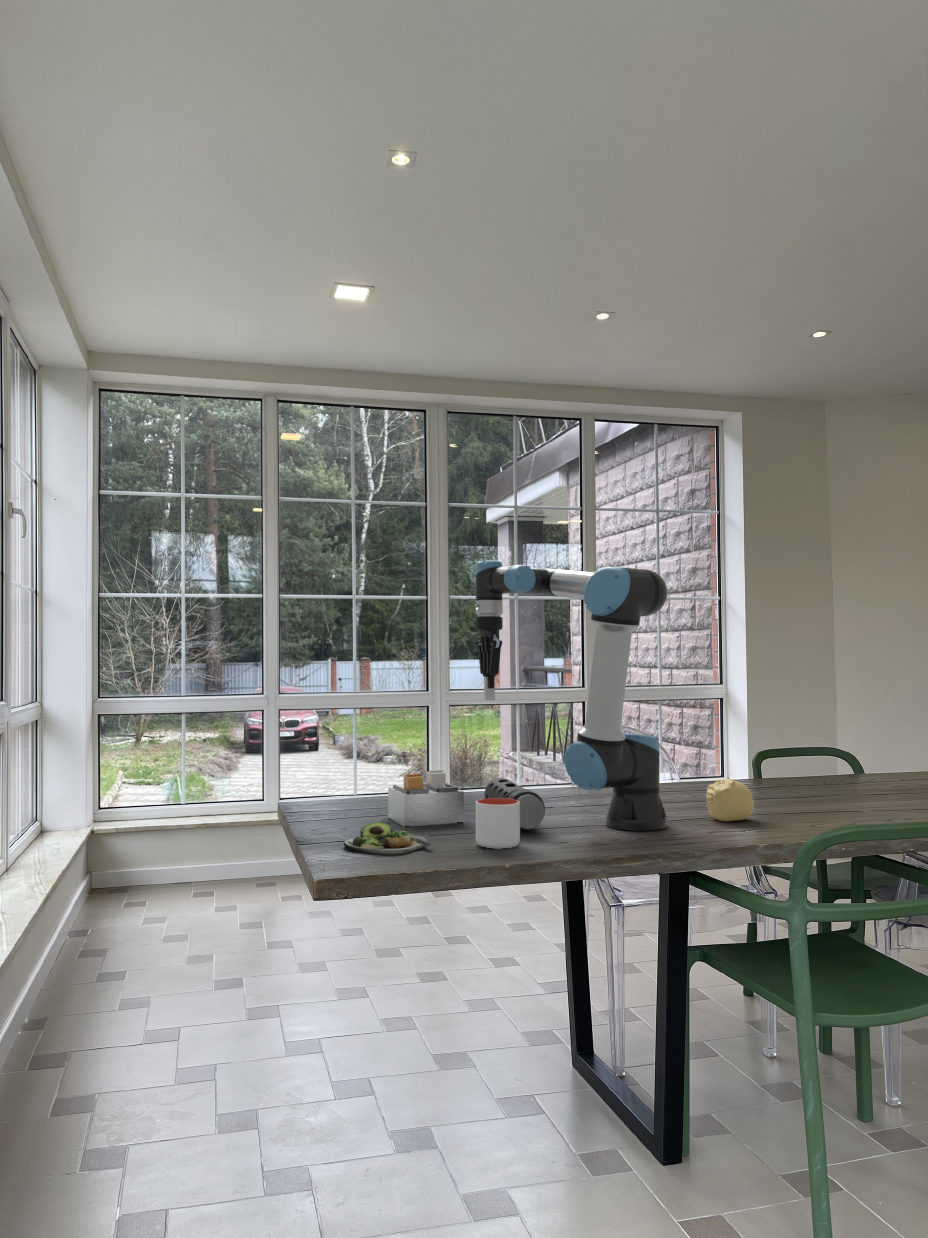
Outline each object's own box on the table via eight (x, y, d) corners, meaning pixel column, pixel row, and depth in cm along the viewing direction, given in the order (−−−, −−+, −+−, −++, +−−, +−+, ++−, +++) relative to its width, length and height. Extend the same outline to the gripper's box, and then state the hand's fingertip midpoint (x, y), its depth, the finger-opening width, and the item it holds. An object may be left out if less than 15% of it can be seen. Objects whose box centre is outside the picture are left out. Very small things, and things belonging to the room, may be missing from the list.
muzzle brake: (517, 814, 250) (517, 776, 250) (548, 835, 222) (547, 791, 223) (483, 816, 248) (483, 777, 248) (509, 836, 220) (509, 793, 221)
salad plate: (449, 845, 211) (449, 825, 212) (407, 861, 196) (407, 839, 196) (379, 837, 221) (379, 817, 221) (333, 851, 205) (333, 830, 205)
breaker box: (463, 822, 238) (463, 787, 238) (404, 827, 232) (404, 790, 232) (444, 813, 251) (444, 780, 251) (388, 817, 245) (388, 783, 245)
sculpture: (701, 816, 247) (701, 775, 247) (746, 816, 247) (746, 775, 247) (711, 824, 236) (711, 781, 236) (759, 824, 235) (758, 781, 236)
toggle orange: (423, 790, 237) (423, 774, 237) (408, 791, 235) (408, 775, 235) (418, 788, 240) (418, 772, 241) (403, 789, 239) (403, 773, 239)
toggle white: (445, 786, 245) (445, 770, 245) (431, 787, 243) (431, 771, 243) (440, 784, 248) (440, 769, 248) (426, 785, 247) (426, 769, 247)
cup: (476, 841, 215) (476, 798, 215) (519, 841, 214) (519, 798, 215) (475, 850, 205) (475, 805, 205) (520, 850, 204) (520, 805, 205)
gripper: (468, 616, 264) (468, 699, 263) (485, 614, 252) (485, 701, 251) (492, 616, 267) (492, 698, 266) (510, 615, 255) (511, 701, 254)
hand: (489, 700), depth 259 cm, fingers closed
